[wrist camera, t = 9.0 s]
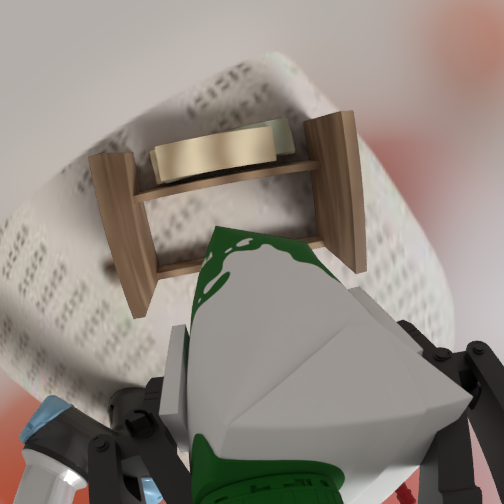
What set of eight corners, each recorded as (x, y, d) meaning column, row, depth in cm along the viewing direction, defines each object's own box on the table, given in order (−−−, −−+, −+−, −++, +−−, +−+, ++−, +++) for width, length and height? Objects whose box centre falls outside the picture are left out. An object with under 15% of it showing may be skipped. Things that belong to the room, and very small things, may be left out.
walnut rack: (152, 273, 46) (133, 318, 33) (123, 155, 40) (88, 157, 27) (326, 239, 49) (366, 271, 35) (312, 120, 42) (353, 110, 29)
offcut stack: (159, 185, 43) (152, 190, 37) (151, 149, 41) (142, 148, 35) (291, 155, 44) (302, 155, 38) (284, 119, 42) (294, 114, 36)
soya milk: (205, 211, 22) (204, 502, 3) (321, 232, 23) (531, 415, 5) (188, 317, 24) (182, 576, 5) (293, 329, 26) (393, 543, 7)
